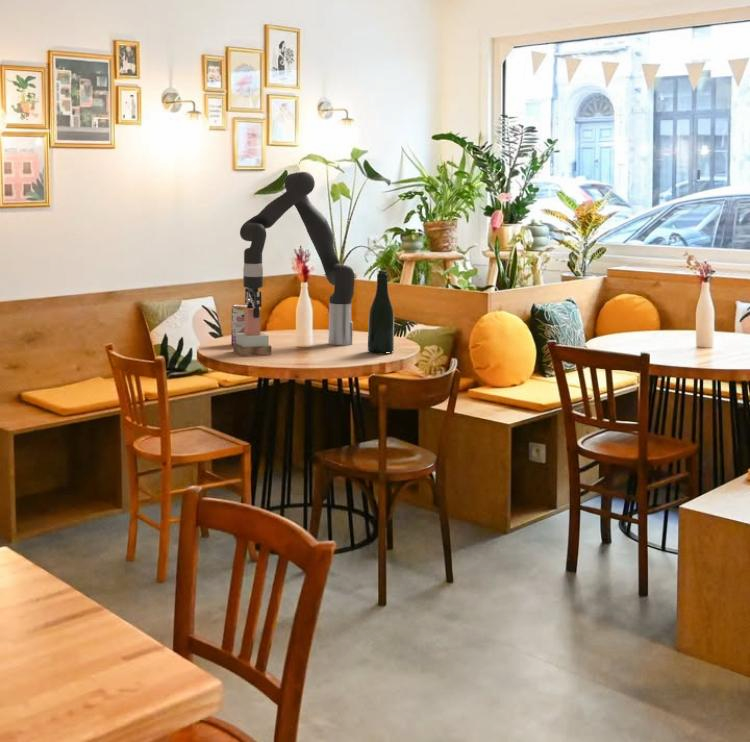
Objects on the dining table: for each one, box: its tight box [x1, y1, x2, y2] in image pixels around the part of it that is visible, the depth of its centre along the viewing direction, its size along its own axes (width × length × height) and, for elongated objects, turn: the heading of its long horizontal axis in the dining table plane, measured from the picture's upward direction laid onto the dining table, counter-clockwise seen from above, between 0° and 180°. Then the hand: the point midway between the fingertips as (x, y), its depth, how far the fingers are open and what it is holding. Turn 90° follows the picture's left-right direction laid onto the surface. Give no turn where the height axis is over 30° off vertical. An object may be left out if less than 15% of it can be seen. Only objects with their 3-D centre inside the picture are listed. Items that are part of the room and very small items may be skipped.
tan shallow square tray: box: [232, 343, 273, 357], centre depth 422 cm, size 12×12×4 cm
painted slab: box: [236, 331, 270, 347], centre depth 421 cm, size 10×10×4 cm
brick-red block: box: [244, 308, 262, 336], centre depth 420 cm, size 5×5×10 cm
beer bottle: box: [367, 269, 395, 354], centre depth 429 cm, size 10×10×33 cm
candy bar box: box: [230, 304, 261, 346], centre depth 441 cm, size 11×5×16 cm, turn 84°
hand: (253, 316), depth 420 cm, fingers open, 8 cm apart
